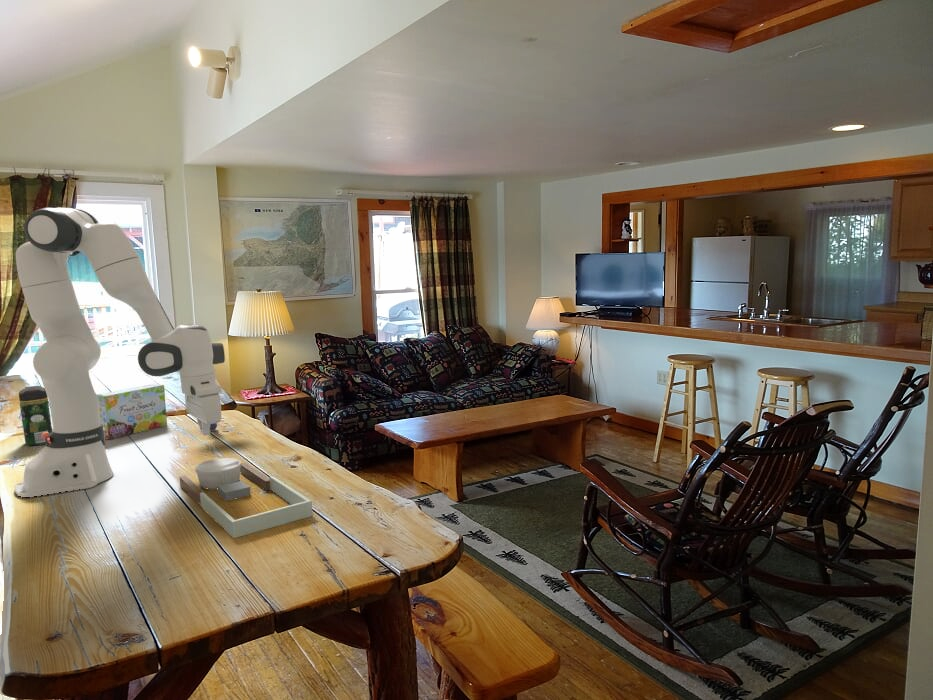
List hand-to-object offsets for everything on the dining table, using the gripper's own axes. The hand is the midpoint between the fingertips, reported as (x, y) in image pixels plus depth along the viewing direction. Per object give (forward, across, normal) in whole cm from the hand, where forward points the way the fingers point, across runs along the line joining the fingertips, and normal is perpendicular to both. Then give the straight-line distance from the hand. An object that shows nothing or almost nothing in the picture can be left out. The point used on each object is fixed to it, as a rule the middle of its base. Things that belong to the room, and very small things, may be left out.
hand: (205, 434), depth 179 cm
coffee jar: (+9, -72, -33) cm, 80 cm away
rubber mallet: (+11, -46, +14) cm, 49 cm away
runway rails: (+11, +16, -1) cm, 19 cm away
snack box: (+10, -64, -6) cm, 65 cm away
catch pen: (+11, +36, -1) cm, 38 cm away
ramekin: (+11, +12, -1) cm, 16 cm away
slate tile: (+11, +22, -1) cm, 25 cm away
